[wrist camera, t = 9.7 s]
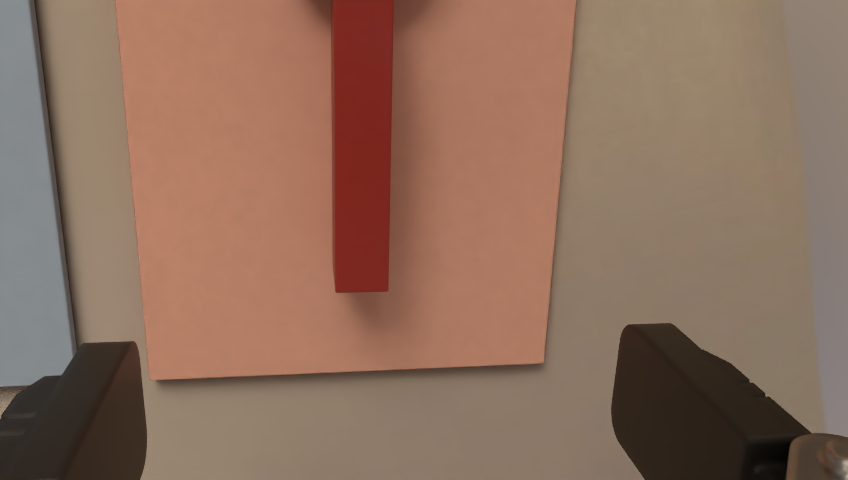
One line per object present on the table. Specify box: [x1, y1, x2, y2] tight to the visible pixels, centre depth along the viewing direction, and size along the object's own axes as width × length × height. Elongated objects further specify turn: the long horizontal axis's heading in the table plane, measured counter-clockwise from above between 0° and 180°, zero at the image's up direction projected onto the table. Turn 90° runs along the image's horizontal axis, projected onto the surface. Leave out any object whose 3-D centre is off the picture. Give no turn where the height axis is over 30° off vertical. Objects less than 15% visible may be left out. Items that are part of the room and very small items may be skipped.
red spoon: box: [331, 0, 394, 293], centre depth 18 cm, size 11×4×2 cm, turn 178°
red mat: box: [115, 0, 576, 380], centre depth 20 cm, size 13×12×1 cm
